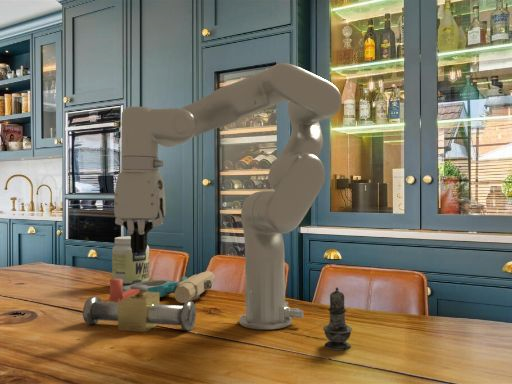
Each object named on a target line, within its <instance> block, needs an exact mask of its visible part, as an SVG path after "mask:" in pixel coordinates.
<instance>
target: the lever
mask: <svg viewBox="0 0 512 384" xmlns="http://www.w3.org/2000/svg"><path fill="white" fill-rule="evenodd" d="M147 291H148V286H147V285H134V286H131V287H130V289H129V290H127V291H124V292H123V279H119V278H117V279H109V299H108V300H109V301H108V302H119V301H122V300H124V299H126V298H128V297H131V296H133V295H135V294H137V293H145V292H147Z"/></svg>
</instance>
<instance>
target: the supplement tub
mask: <svg viewBox="0 0 512 384" xmlns="http://www.w3.org/2000/svg"><path fill="white" fill-rule="evenodd" d="M113 243H114V244H115V245H114V246H113V247H112V250H111V268H112V269H111V271H112V272H111V275H112V276H111V277H112V279H117V278H119V279H123V287H126V286H129V285H132V284H136V283H141V282H146V281H151V280H150V276H151V275H150V246H149V245H148V244H147V249H146V252H145V253H141V254H137V253H136V254H132V249H131V235H127V236H125V235H124V236H118V237H114V242H113Z"/></svg>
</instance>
